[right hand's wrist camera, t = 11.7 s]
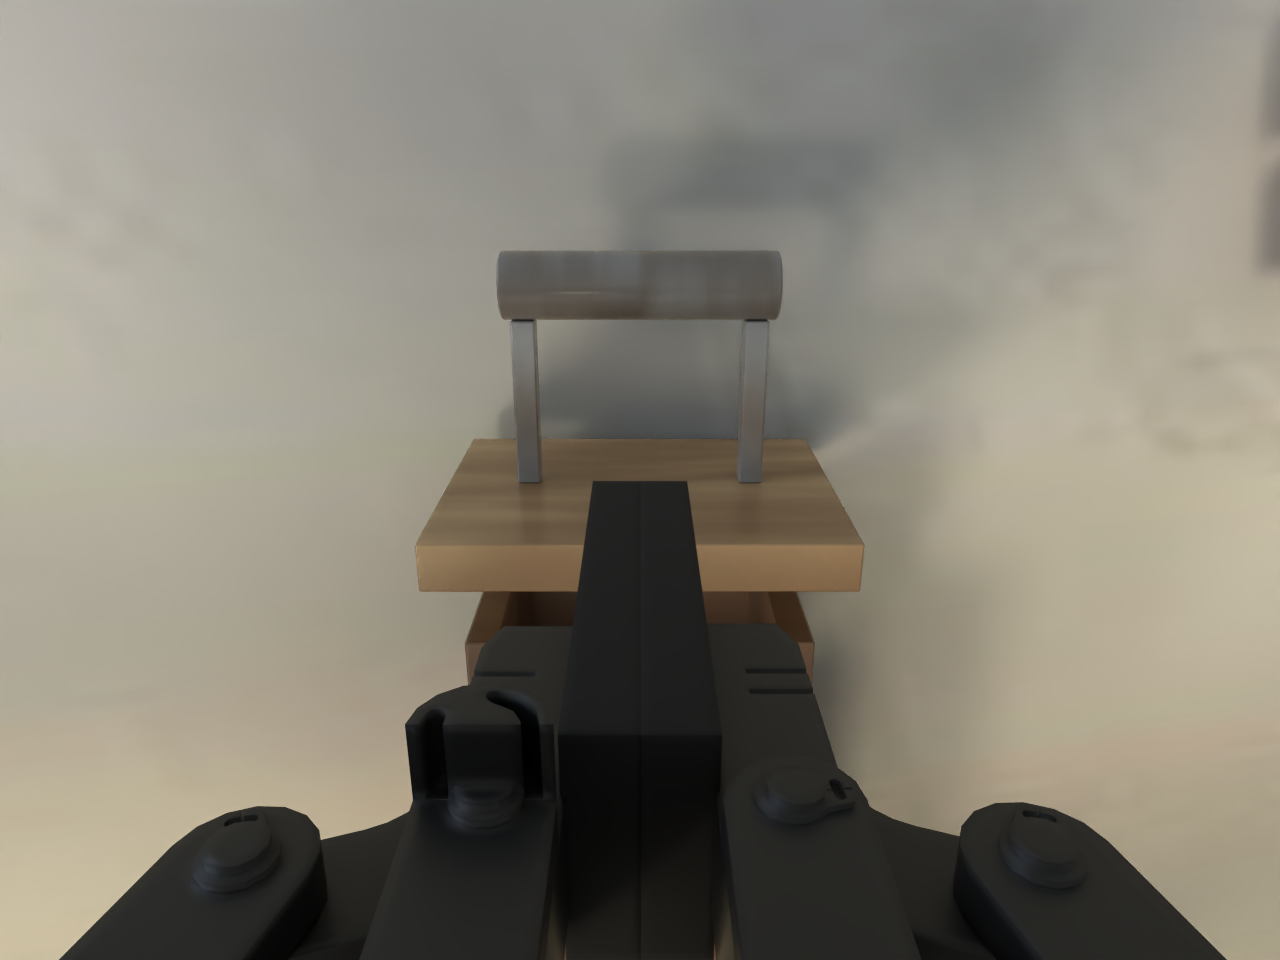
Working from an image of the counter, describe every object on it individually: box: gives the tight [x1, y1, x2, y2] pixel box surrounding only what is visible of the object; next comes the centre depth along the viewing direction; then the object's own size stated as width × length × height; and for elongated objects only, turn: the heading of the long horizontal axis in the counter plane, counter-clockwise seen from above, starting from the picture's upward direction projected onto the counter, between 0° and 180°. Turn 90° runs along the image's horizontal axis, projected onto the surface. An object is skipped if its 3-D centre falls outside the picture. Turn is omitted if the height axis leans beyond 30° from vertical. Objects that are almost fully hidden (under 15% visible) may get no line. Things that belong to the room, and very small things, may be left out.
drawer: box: [415, 251, 864, 685], centre depth 26 cm, size 26×10×8 cm, turn 0°
